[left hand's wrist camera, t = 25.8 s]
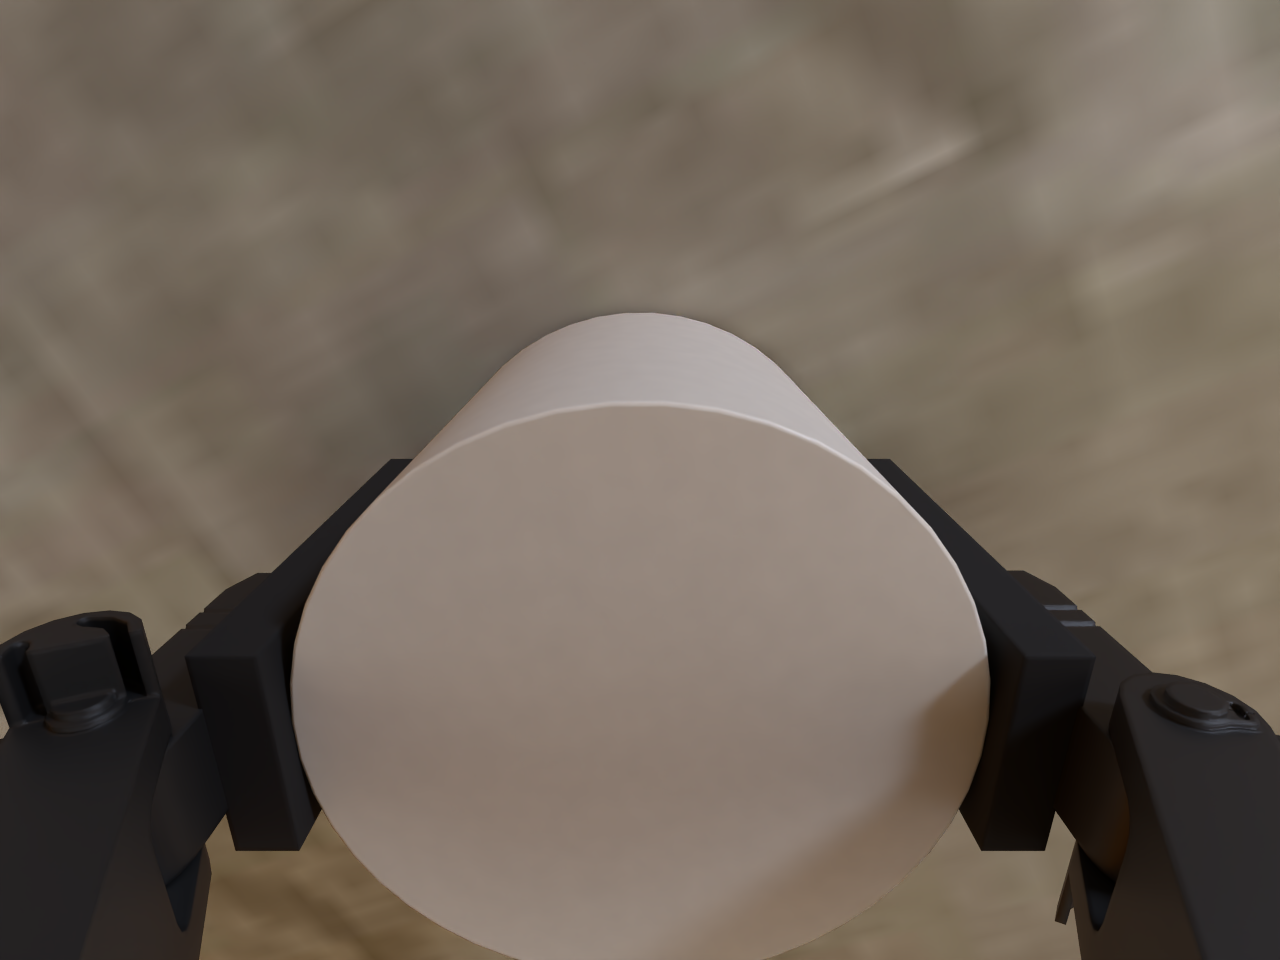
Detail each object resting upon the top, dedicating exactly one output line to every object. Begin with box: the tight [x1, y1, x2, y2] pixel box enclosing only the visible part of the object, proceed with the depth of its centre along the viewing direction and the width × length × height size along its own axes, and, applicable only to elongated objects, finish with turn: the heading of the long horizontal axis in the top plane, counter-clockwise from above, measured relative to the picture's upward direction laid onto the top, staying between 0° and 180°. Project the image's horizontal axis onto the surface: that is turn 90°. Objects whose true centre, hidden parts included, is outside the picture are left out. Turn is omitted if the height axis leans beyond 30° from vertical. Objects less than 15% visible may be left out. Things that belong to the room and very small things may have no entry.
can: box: [290, 313, 990, 960], centre depth 11 cm, size 8×8×7 cm
